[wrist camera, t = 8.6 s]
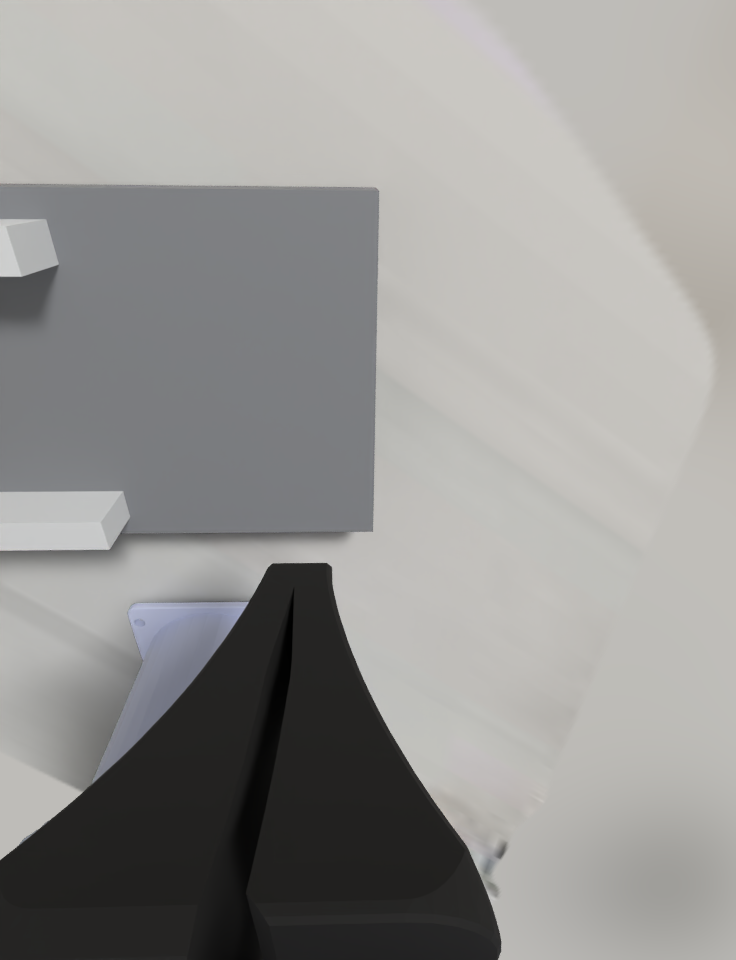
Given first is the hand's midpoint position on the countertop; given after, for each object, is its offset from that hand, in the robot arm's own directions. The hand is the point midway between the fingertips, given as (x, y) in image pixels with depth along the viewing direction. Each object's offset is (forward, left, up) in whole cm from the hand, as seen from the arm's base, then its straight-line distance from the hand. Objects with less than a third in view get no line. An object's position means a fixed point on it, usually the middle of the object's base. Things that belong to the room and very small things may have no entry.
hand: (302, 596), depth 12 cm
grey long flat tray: (+2, +12, -10) cm, 16 cm away
